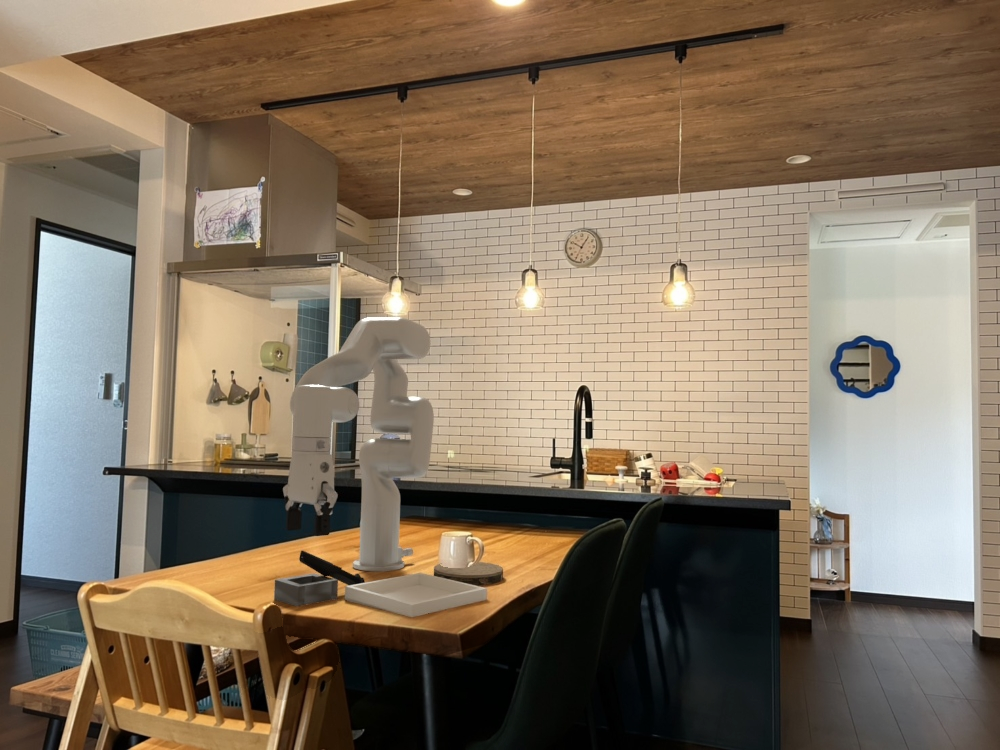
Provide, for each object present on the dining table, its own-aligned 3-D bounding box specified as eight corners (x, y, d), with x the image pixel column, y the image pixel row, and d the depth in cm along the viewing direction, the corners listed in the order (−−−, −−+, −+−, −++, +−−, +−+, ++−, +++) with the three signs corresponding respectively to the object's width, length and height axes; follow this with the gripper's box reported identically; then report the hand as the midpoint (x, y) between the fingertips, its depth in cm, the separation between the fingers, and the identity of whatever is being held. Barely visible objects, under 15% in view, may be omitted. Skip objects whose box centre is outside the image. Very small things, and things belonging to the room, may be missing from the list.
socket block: (313, 592, 159) (314, 573, 159) (337, 600, 153) (338, 579, 153) (274, 600, 152) (275, 579, 152) (297, 607, 146) (298, 586, 147)
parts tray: (419, 586, 167) (420, 572, 167) (486, 603, 154) (487, 588, 154) (344, 601, 152) (345, 586, 152) (411, 621, 139) (412, 604, 139)
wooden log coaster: (465, 571, 186) (465, 558, 187) (516, 581, 176) (517, 568, 177) (418, 581, 174) (419, 567, 174) (471, 592, 164) (471, 578, 164)
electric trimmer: (292, 564, 154) (298, 549, 156) (357, 592, 161) (362, 577, 162) (298, 564, 151) (305, 549, 153) (364, 592, 158) (370, 577, 159)
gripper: (353, 448, 151) (349, 536, 150) (303, 445, 163) (299, 526, 161) (321, 448, 145) (316, 539, 144) (271, 444, 157) (267, 529, 156)
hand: (307, 532), depth 153 cm, fingers open, 9 cm apart
